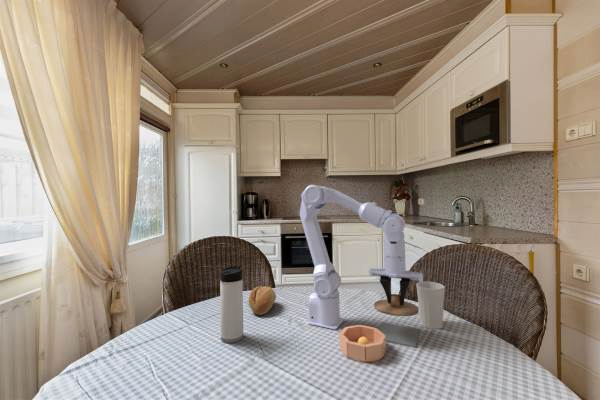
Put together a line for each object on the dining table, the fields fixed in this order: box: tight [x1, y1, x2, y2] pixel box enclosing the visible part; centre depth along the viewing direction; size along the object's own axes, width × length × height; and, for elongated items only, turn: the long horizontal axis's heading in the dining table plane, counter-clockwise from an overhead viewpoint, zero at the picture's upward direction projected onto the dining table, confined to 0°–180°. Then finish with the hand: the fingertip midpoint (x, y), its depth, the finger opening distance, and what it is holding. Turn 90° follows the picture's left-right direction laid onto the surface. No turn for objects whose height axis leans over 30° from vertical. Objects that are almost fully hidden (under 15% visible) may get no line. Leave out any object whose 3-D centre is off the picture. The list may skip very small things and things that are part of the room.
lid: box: [373, 293, 419, 317], centre depth 78 cm, size 12×12×4 cm
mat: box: [377, 321, 420, 348], centre depth 78 cm, size 11×11×1 cm
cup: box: [415, 281, 446, 330], centre depth 84 cm, size 8×8×12 cm
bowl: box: [338, 324, 387, 363], centre depth 70 cm, size 11×11×4 cm
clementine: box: [358, 337, 370, 345], centre depth 69 cm, size 3×3×3 cm
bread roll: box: [248, 285, 277, 316], centre depth 99 cm, size 10×15×8 cm, turn 179°
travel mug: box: [219, 264, 244, 344], centre depth 78 cm, size 6×7×20 cm
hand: (395, 303), depth 78 cm, fingers closed on lid, 3 cm apart
